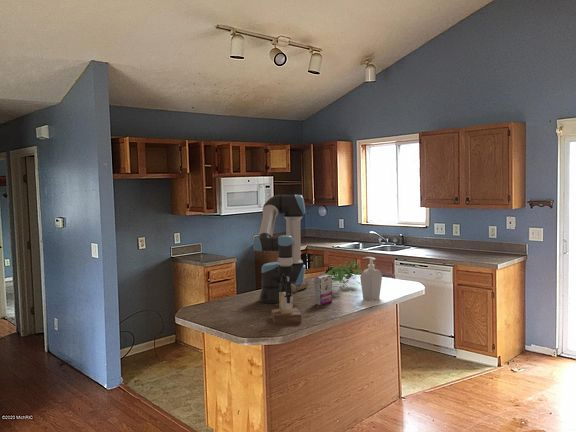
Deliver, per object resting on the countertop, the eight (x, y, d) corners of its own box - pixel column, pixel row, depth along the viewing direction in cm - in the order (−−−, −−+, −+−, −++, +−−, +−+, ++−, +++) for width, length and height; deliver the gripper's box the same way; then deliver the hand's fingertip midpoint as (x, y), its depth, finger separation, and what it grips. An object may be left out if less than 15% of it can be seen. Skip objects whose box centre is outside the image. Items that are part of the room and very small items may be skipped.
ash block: (279, 310, 272) (279, 292, 271) (290, 309, 273) (290, 291, 272) (281, 313, 266) (281, 294, 265) (292, 312, 267) (292, 294, 266)
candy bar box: (325, 300, 311) (325, 274, 310) (332, 302, 307) (332, 275, 306) (314, 304, 303) (314, 277, 301) (320, 305, 299) (320, 278, 298)
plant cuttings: (365, 295, 352) (342, 273, 362) (379, 277, 345) (355, 255, 354) (339, 306, 324) (316, 282, 333) (354, 287, 317) (329, 263, 326)
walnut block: (271, 318, 276) (271, 309, 275) (296, 316, 278) (296, 307, 277) (274, 325, 262) (274, 316, 261) (301, 324, 264) (301, 314, 264)
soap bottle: (367, 295, 323) (368, 255, 321) (382, 297, 317) (382, 256, 315) (357, 299, 314) (357, 257, 312) (372, 301, 307) (372, 259, 305)
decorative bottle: (299, 287, 350) (299, 277, 349) (308, 288, 346) (308, 279, 345) (278, 294, 328) (278, 284, 328) (288, 296, 324) (288, 286, 324)
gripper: (274, 261, 278) (274, 301, 280) (282, 269, 255) (283, 312, 257) (287, 261, 279) (288, 300, 281) (297, 268, 257) (297, 311, 259)
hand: (285, 306), depth 269 cm, fingers open, 10 cm apart
